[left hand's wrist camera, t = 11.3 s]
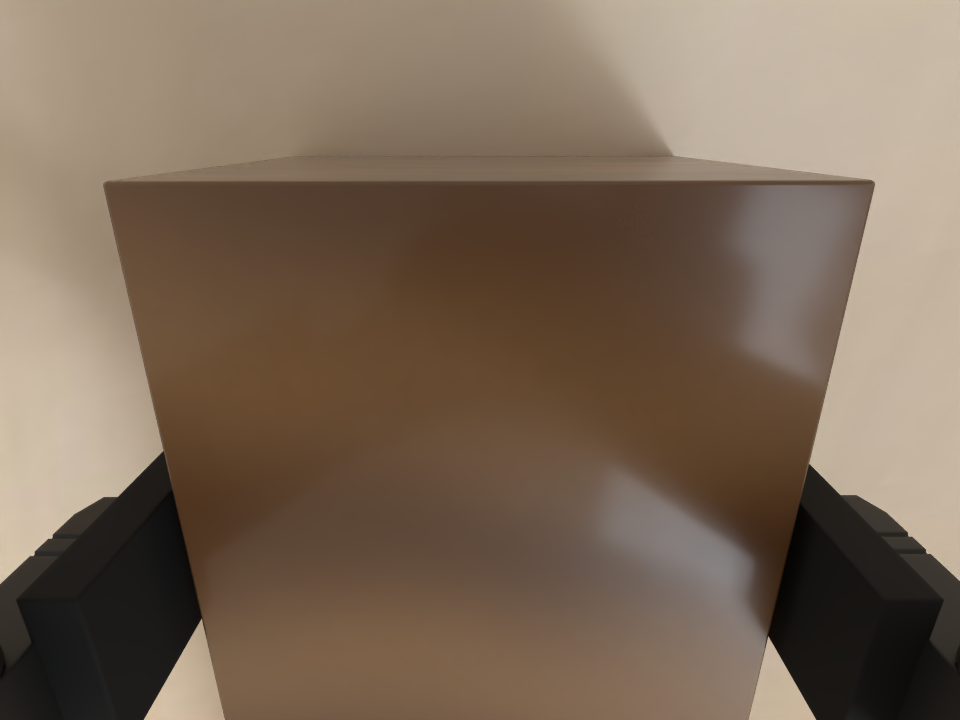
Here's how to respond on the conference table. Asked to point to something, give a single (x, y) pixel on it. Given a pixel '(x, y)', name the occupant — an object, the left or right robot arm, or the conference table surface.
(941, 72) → the conference table surface
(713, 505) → the thick board
